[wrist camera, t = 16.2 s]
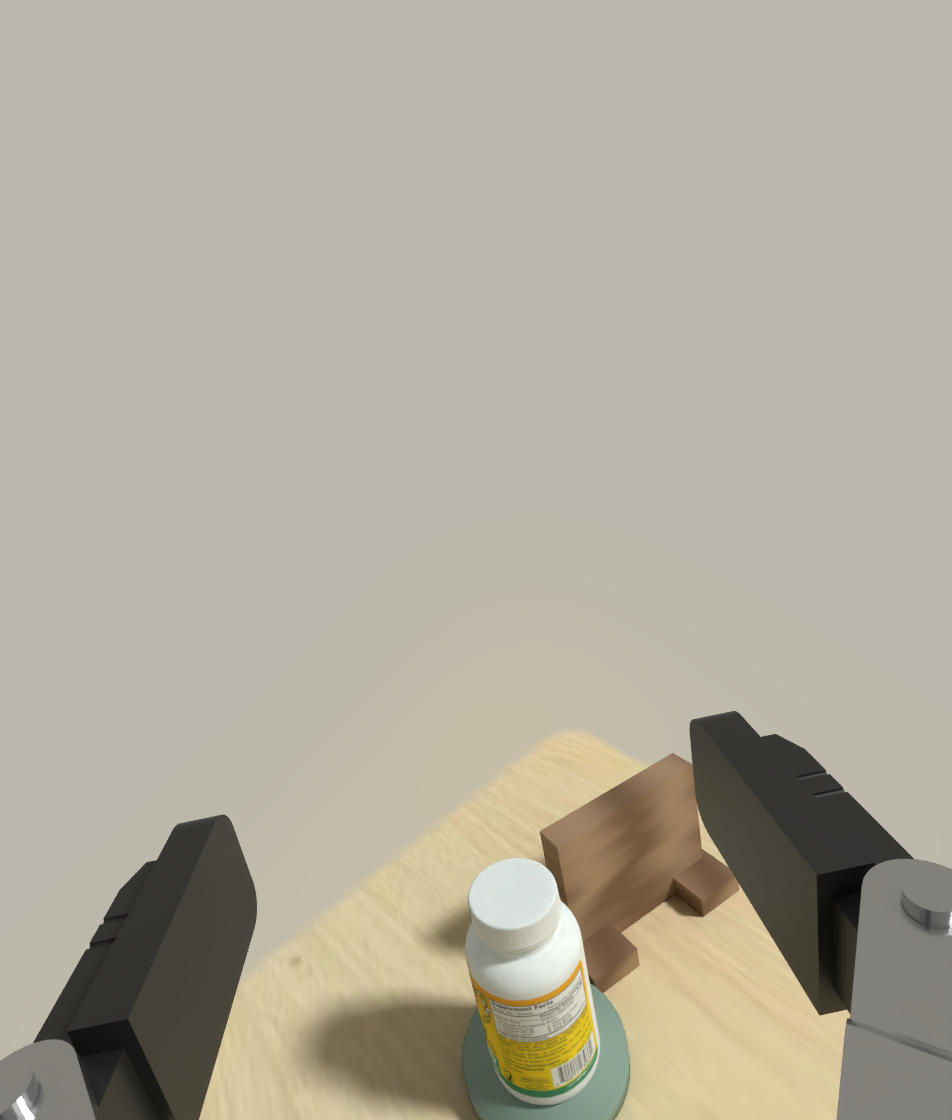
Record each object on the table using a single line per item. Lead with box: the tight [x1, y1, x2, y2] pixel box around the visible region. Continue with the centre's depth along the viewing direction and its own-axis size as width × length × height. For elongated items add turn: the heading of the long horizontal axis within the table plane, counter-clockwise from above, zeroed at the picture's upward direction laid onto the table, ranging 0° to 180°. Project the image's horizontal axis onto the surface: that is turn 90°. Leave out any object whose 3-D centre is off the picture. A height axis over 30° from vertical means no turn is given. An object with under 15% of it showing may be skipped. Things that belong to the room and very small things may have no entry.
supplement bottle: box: [465, 858, 600, 1105], centre depth 30 cm, size 5×5×10 cm
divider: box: [540, 753, 739, 993], centre depth 38 cm, size 11×6×8 cm, turn 120°
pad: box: [463, 983, 630, 1120], centre depth 32 cm, size 8×8×1 cm
